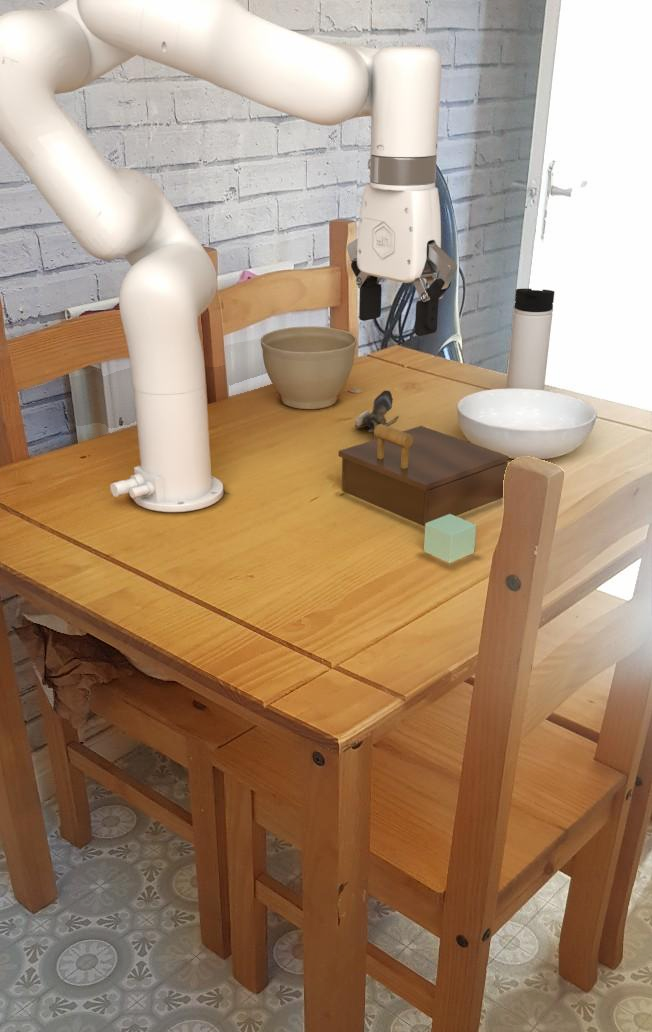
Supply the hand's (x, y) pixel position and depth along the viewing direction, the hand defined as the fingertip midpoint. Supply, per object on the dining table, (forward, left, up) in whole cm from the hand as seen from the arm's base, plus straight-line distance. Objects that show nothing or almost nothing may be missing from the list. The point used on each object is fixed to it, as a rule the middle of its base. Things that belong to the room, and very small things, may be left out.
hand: (397, 326), depth 127 cm
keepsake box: (+6, 0, -24) cm, 25 cm away
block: (-5, -15, -24) cm, 29 cm away
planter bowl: (+22, +43, -24) cm, 54 cm away
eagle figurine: (+19, +23, -24) cm, 39 cm away
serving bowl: (+31, +3, -24) cm, 40 cm away
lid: (+6, 0, -19) cm, 19 cm away
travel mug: (+47, +16, -24) cm, 56 cm away
